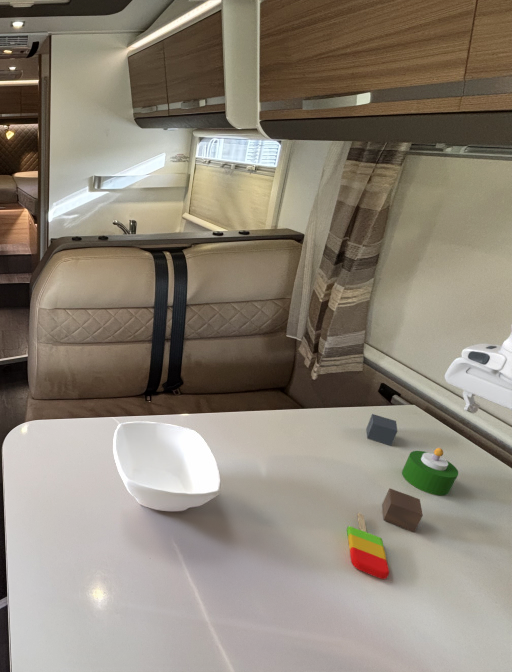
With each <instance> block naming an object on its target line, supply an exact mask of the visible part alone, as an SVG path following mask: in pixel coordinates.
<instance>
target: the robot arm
mask: <svg viewBox="0 0 512 672" xmlns="http://www.w3.org/2000/svg"><path fill="white" fill-rule="evenodd" d="M460 355H461V356H459V357H456V358H455V359H454V360H453V361H452V362H451V363H450V365H449V367H448V368H447V370H446V371H445V374H444V380H445V383H446V384H448V385H451V386H453V387H456V388H458V389H459V390H462V397H463V399H464V402H465V406H464V407H463V411H466V412H468V413H470V414H476V413H477V412H478V411H479V409H480V406H481V405H480V404H478V403H476V401H475V396H476V397H480V398H481V399H485V400H487V401H489V402H492V403H493V404H496V405H499V406H501V407H504V408H505V409H508V410H511V411H512V324H511V325H510V334H509V336H508V337H507V338H506V339H505V340H504V341H503V343H502V344H494V343H493V344H492V343H483V342H482V343H476V344H472V345H469V346H467V347H465V348H463V349H462V351H461V353H460Z"/></svg>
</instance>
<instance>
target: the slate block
mask: <svg viewBox="0 0 512 672" xmlns="http://www.w3.org/2000/svg"><path fill="white" fill-rule="evenodd" d="M397 434H398V426H397V420H394V419H391V418H387V417H384V416H381V415H378V414H375V413H371V415H370V418H369V420H368V424H367V426H366V439H367V440H371V441H374V442H376V443H380V444H382V445H387V446H390V447H392V445H393V443H394V440H395V439H396V437H397Z"/></svg>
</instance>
